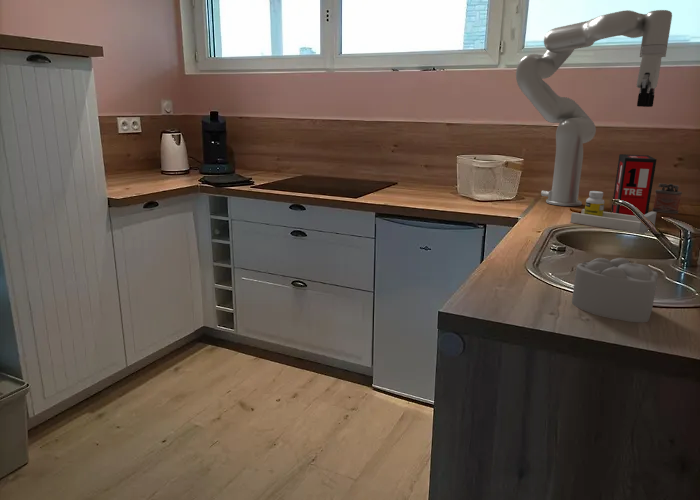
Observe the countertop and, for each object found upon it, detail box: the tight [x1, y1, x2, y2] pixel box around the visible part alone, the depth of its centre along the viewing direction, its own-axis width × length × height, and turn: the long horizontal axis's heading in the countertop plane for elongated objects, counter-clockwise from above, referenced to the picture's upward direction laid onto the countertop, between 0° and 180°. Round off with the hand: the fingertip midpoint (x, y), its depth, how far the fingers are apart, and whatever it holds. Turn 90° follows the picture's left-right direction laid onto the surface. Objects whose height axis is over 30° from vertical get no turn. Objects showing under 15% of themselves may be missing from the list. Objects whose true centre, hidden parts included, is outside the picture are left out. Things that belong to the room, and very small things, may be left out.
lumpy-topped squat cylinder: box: [571, 257, 659, 323], centre depth 97 cm, size 10×13×9 cm
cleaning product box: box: [611, 154, 657, 216], centre depth 181 cm, size 16×9×20 cm, turn 160°
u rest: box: [569, 208, 658, 234], centre depth 168 cm, size 22×10×5 cm, turn 48°
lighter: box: [652, 182, 683, 214], centre depth 191 cm, size 8×3×10 cm, turn 58°
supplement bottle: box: [584, 190, 605, 217], centre depth 171 cm, size 5×5×10 cm
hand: (644, 106), depth 180 cm, fingers open, 9 cm apart
